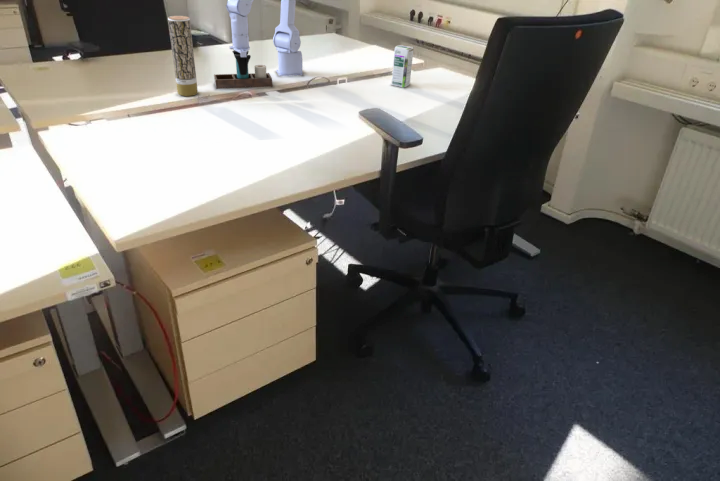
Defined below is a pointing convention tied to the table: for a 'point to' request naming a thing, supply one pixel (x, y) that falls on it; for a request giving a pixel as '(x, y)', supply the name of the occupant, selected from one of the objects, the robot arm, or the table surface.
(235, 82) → the rack
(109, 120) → the table surface
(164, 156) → the table surface
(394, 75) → the syrup box
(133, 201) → the table surface
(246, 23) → the robot arm
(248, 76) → the paper roll
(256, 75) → the roll
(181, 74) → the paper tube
